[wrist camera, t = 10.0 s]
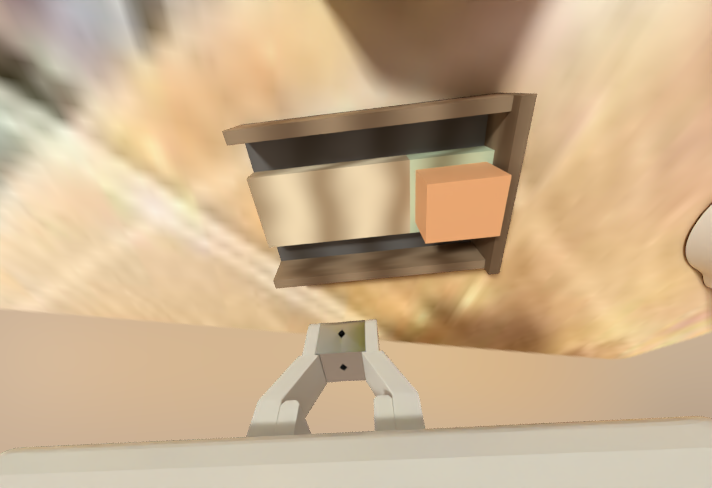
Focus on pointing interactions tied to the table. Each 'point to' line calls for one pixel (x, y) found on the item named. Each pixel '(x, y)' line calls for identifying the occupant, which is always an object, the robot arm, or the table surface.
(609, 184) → the table surface
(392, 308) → the table surface
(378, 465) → the robot arm
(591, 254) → the table surface
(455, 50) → the table surface
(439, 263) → the box
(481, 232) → the block
